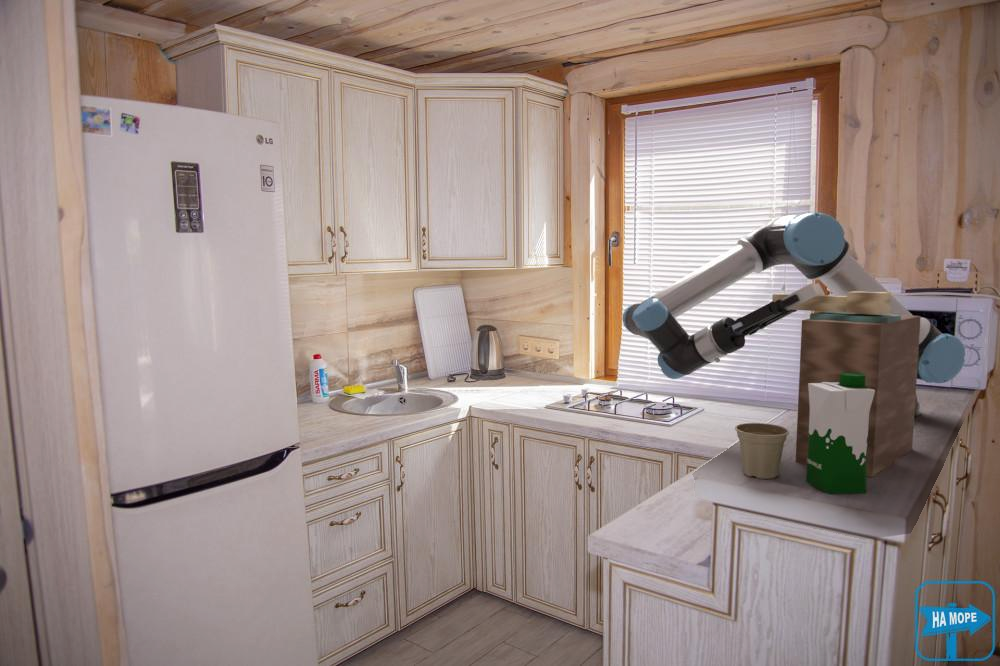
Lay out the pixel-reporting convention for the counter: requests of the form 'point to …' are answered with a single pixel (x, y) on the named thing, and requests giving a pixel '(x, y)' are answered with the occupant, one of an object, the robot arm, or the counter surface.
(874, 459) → the walnut shelf
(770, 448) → the flower pot
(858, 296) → the oak bar
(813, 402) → the milk carton
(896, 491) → the counter surface
